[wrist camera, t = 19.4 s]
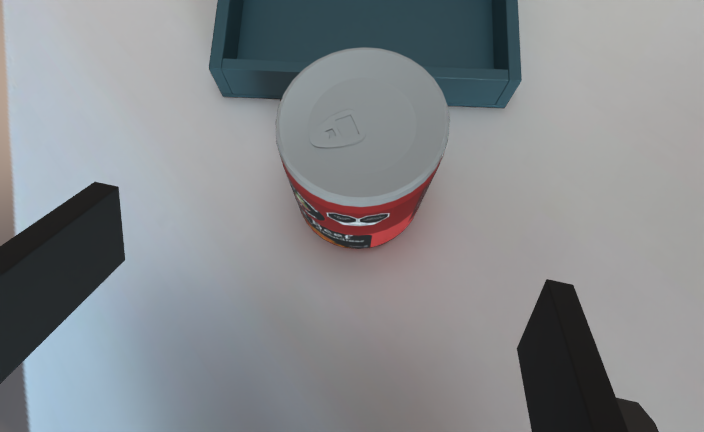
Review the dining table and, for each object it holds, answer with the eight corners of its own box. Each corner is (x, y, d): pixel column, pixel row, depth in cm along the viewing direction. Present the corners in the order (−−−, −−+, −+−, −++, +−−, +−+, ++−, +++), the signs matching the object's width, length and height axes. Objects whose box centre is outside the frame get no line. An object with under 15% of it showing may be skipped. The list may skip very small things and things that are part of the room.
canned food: (276, 185, 33) (240, 108, 23) (370, 118, 34) (378, 14, 24) (346, 277, 32) (344, 240, 21) (443, 202, 33) (486, 132, 22)
